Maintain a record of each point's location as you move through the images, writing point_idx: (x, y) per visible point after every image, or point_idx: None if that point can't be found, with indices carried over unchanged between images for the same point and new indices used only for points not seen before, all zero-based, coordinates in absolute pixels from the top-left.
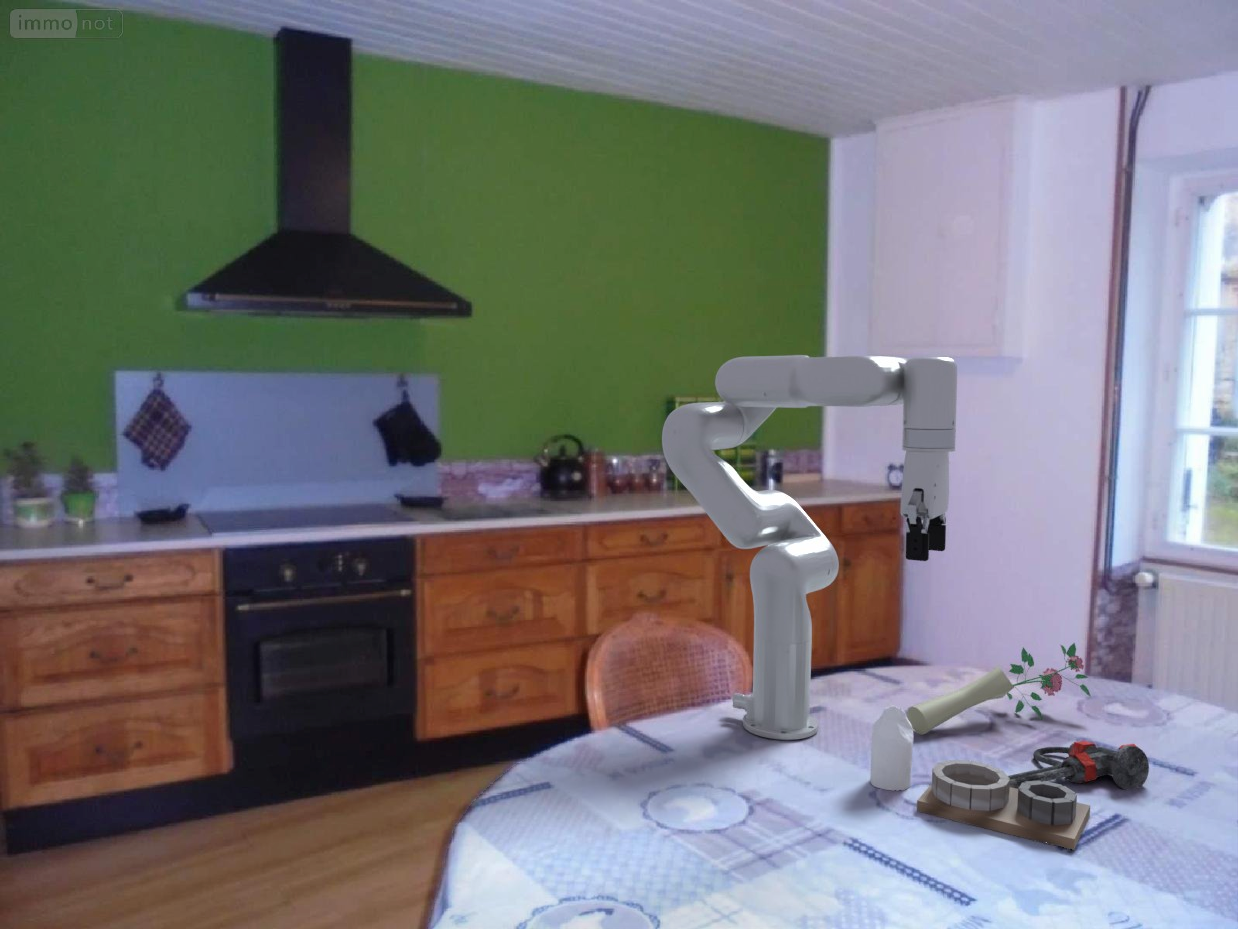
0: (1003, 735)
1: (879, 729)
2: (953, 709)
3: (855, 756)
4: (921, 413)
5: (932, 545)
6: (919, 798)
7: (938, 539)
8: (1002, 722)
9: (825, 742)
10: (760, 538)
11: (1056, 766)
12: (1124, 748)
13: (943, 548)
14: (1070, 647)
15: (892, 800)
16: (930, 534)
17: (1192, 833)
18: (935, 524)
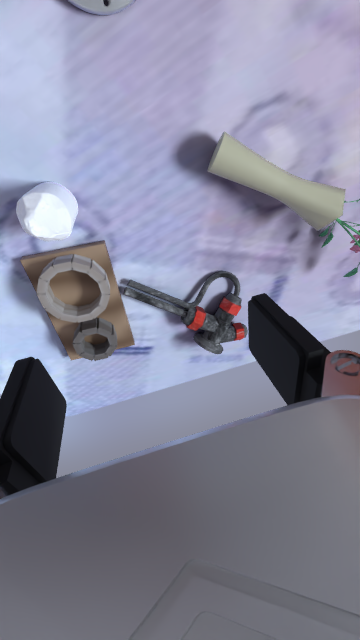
0: (257, 228)
1: (17, 213)
2: (249, 187)
3: (88, 124)
4: None
5: (254, 331)
6: (26, 259)
7: (266, 360)
8: (293, 211)
9: (97, 52)
10: None
11: (185, 306)
12: (209, 350)
13: (253, 353)
14: None
15: (21, 227)
16: (276, 349)
17: (156, 378)
18: (304, 390)
